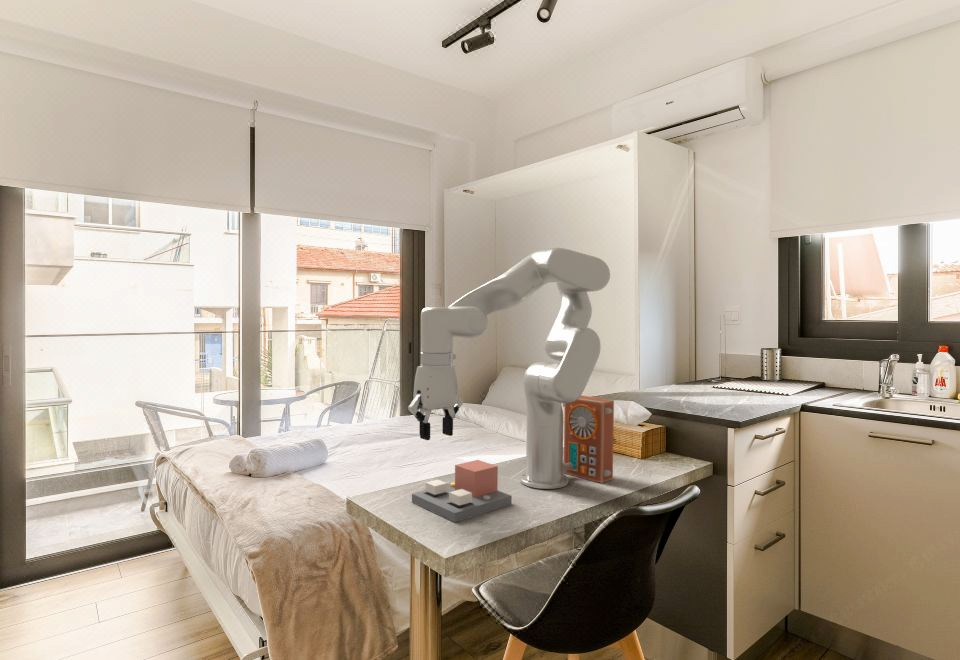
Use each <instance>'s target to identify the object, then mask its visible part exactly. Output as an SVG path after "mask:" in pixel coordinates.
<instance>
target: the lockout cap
mask: <svg viewBox="0 0 960 660" xmlns="http://www.w3.org/2000/svg"><path fill="white" fill-rule="evenodd" d="M498 468H499V467H498V465H495V464H492V463H490V462H486V461H484V460H479V459H475V460H472V461H467V462H464V463H463V462H462V463H459V464H455V465H454V483H455V490H460V489H463V490H466V491H468V492H471V493H472V497H474V498H476V497H479V496H482V495H486V494H489V493H493V492H496V491H497V490H498V485H499V484H498V482H499V481H498V480H499V479H498V478H499V477H498V476H499V475H498V474H499V473H498V470H499V469H498Z"/></svg>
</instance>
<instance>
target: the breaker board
mask: <svg viewBox="0 0 960 660" xmlns="http://www.w3.org/2000/svg"><path fill="white" fill-rule="evenodd" d="M452 491H456V490H455V482H450V483H447V492H444V493H440V494H436V495H434V494H431V493H429V492H427V491H426V489H425V490H424V489H423V490H421V491H417V492H413V493H411V503H413V504H415V505H417V506H419V507H422V508H423V509H425V510H428V511H430V512H433V513H434V514H435V515H438V516H440V517H442V518H445V519H447V520H449V521H451V522H453V523H457V522H461V521H463V520H467V519H469V518H473V517H475V516H479V515H482V514H485V513H488V512H491V511H495V510H497V509H500V508H503V507H504V508H505V507H507V506H510V505H512V501H513V500H512V497H513V496H512V494H509V493H506V492H503V491H500V490H498V489H497V491H496V492H493V493H489V494H486V495H482V496H479V497H476V498H474V497H472V502H470V503H467V504H463V505H460V506H459V505H457V504H455V503H452V502H450V501H449V492H452Z"/></svg>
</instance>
